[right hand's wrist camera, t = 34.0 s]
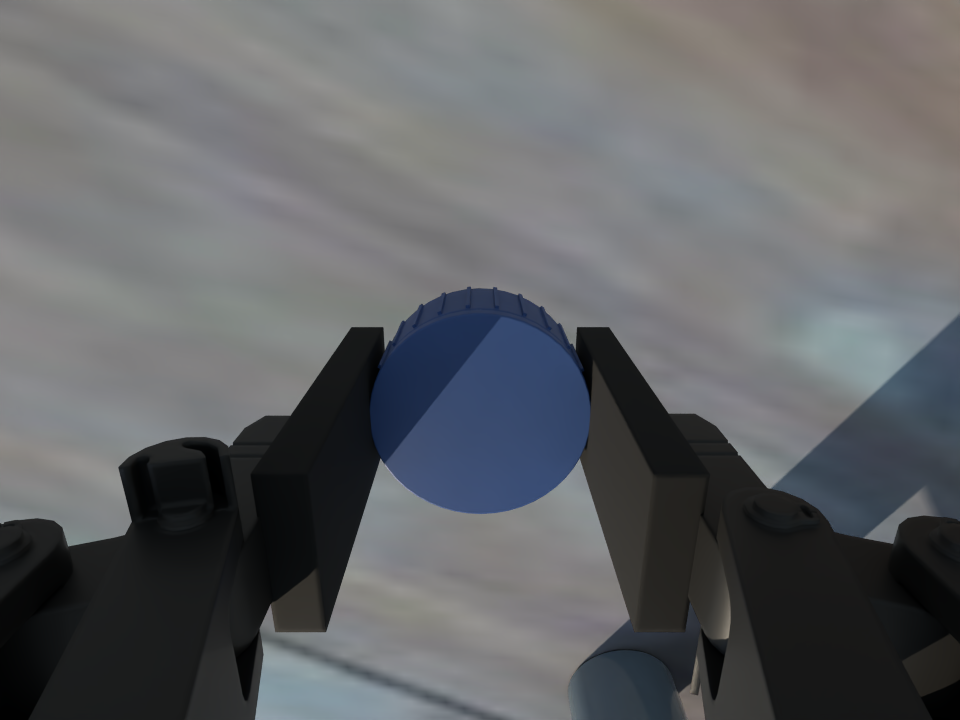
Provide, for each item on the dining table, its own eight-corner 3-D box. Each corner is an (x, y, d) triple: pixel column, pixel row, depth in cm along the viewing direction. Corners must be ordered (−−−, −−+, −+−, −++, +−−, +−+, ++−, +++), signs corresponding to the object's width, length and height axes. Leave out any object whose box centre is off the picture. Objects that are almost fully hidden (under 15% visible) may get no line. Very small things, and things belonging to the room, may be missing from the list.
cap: (481, 499, 15) (482, 553, 13) (341, 382, 14) (319, 422, 12) (618, 379, 14) (641, 419, 12) (478, 241, 13) (477, 260, 11)
